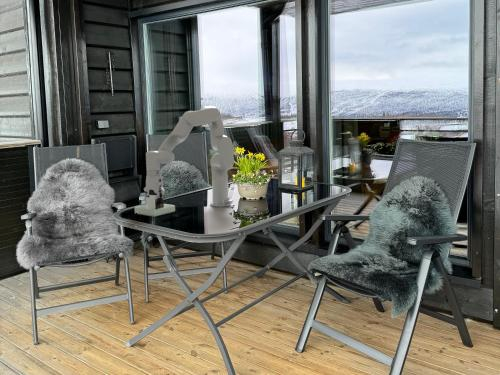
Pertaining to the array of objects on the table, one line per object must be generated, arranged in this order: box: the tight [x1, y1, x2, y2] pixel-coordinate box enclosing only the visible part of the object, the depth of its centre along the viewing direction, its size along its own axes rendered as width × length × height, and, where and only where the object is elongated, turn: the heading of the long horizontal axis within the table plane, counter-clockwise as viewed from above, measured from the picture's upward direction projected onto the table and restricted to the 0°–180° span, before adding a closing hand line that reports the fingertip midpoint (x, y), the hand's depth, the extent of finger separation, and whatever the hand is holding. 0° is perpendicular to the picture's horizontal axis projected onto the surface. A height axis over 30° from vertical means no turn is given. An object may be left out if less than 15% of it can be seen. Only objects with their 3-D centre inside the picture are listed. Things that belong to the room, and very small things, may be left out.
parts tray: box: [134, 203, 176, 217], centre depth 294 cm, size 16×16×4 cm
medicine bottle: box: [145, 190, 165, 210], centre depth 293 cm, size 7×7×12 cm
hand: (155, 203), depth 294 cm, fingers closed on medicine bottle, 7 cm apart
